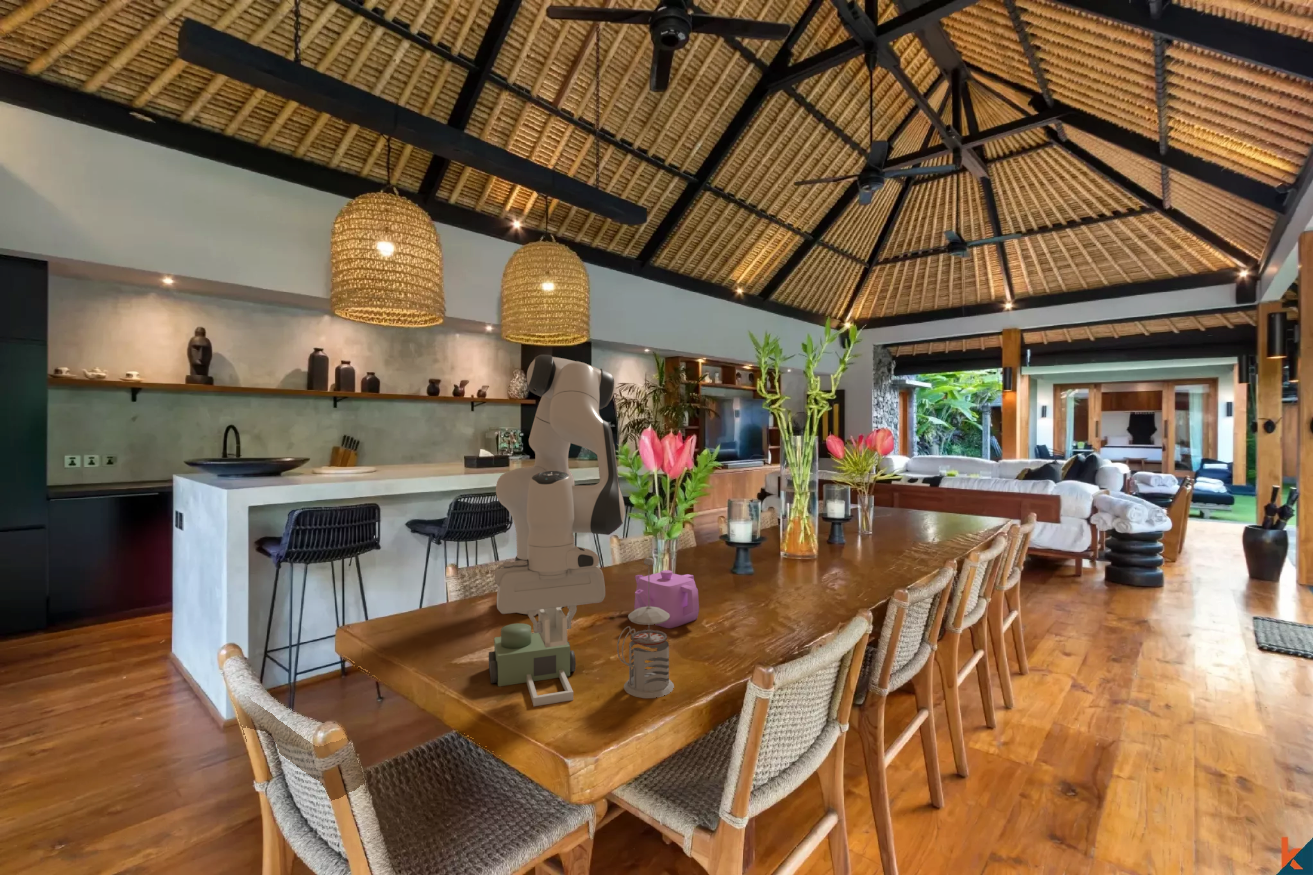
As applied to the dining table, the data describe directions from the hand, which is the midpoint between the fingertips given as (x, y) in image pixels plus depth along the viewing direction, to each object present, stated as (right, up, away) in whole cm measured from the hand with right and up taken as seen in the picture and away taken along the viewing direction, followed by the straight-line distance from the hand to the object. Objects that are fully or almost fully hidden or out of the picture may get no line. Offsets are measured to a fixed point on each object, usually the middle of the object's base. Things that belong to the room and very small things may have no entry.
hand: (552, 630), depth 109 cm
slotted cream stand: (0, -2, 0) cm, 2 cm away
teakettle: (+22, -11, +41) cm, 48 cm away
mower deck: (-4, -11, +4) cm, 13 cm away
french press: (+18, -12, +1) cm, 21 cm away
